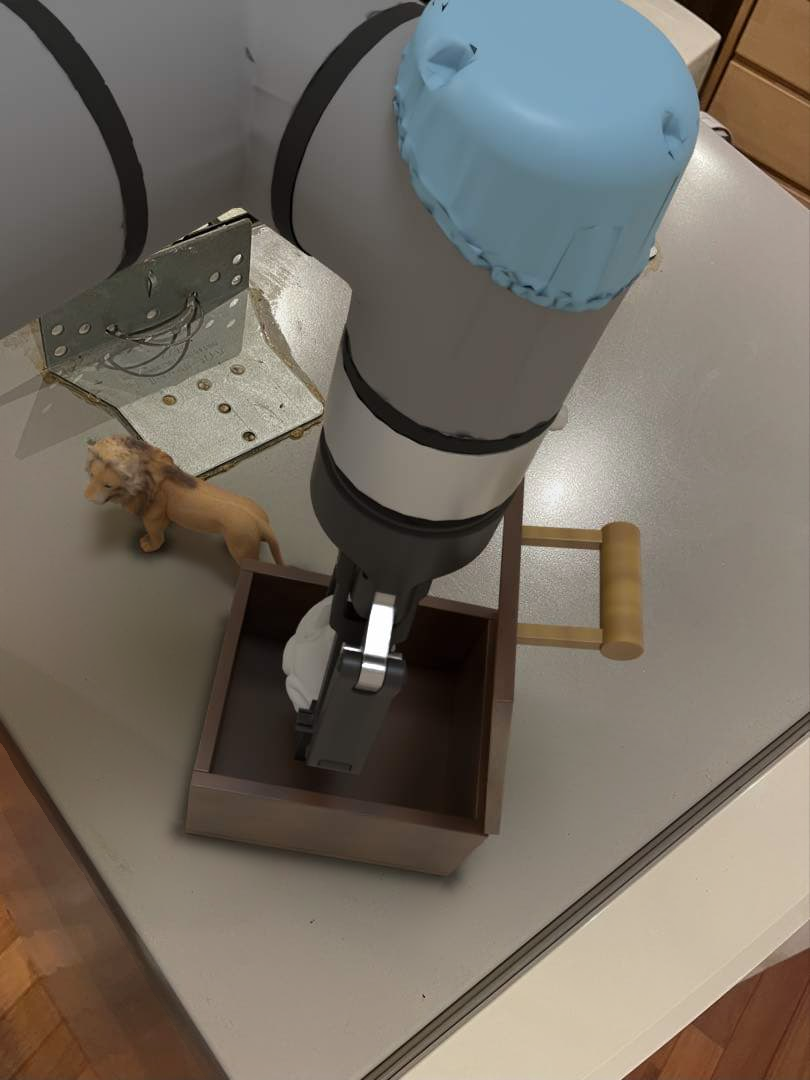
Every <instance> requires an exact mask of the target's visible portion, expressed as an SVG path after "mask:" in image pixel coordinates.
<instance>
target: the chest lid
mask: <svg viewBox="0 0 810 1080" xmlns="http://www.w3.org/2000/svg"><path fill="white" fill-rule="evenodd" d="M525 479H526V474H525V475H524V477H523V479H522V481H521V482H520V484H519V485H518V487H517V490H516V493H515V495H514V498H513V500H512V502H511V504H510V506H509V507H508V509H507V511H506V513H505V515H504V516H503V520H502V521H503V523H502V538H501V551H500V552H501V554H500V557H501V558H500V568H499V569H500V570H499V584H498V585H499V586H498V599H497V600H498V601H497V609H498V614H497V631H496V647H495V663H494V679H493V695H492V711H491V727H490V743H489V759H488V775H487V791H486V807H485V823H484V833H485V834H489V835H494V836H499V835H500V832H501V822H502V815H503V813H502V811H503V804H504V795H505V787H506V786H505V785H506V777H507V769H508V758H509V751H510V750H509V748H510V741H511V740H510V739H511V731H512V721H513V714H514V713H513V712H514V705H515V704H514V703H515V688H516V687H515V685H516V684H515V683H516V665H517V663H516V662H517V645H520V646H521V645H523V646H535V647H548V648H549V647H550V648H562V649H576V650H587V651H588V650H591V651H599V653H600V654H601V656H602V657H604V658H606V659H608V660H610V661H611V660H612V661H617V662H626V661H627V662H628V661H633V660H636V659H638V658H640V657H641V656H642V655H643V654H644V652H645V644H644V640H645V639H644V611H643V610H644V609H643V607H644V606H643V575H642V574H643V573H642V540H641V537H642V536H641V530H640V528H639V527H638V526H637V525H636V524H634V523H632V522H629V521H622V520H621V521H611V522H609V523H607V524H605V525H603V526H602V527H601V528H600V529H592V528H591V529H589V528H572V527H556V526H539V525H525V524H524V525H523V523H524V504H525V501H524V500H525V482H526V480H525ZM522 546H523V547H524V546H525V547H539V548H540V547H541V548H554V549H555V548H557V549H571V550H589V551H598V557H599V558H598V560H599V561H598V563H599V564H598V565H599V566H598V568H599V569H598V571H599V572H598V576H599V577H598V578H599V580H598V583H599V587H598V589H599V590H598V591H599V593H598V594H599V595H598V597H599V598H598V600H599V601H598V602H599V606H598V607H599V611H598V612H599V613H598V614H599V617H598V618H599V619H598V622H599V623H598V624H599V625H598V626H599V627H583V626H569V625H556V624H544V623H543V624H541V623H528V622H527V623H526V622H519V606H520V604H519V603H520V602H519V601H520V582H521V564H522V563H521V562H522Z"/></svg>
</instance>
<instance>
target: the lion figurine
mask: <svg viewBox="0 0 810 1080" xmlns="http://www.w3.org/2000/svg"><path fill="white" fill-rule="evenodd" d="M86 449H87V454H86V460H85V465H84V471H85V472H86V473H87V475H88V478H89V481H88V484H86V486H85V487H84V489H83V492H82V493H83V497H84V498H85V499H86V500H87V501H89V502H90V503H92V504H93V505H95V506H96V507H100V506H103V505H104V504H106V503H108V502H109V503H112V504H115V505H119V504H120V505H121V507H122V509H123V510H126V512H127V513H128V514H129V513H132V514H133V515H135V516H137V517H141V518H142V522H143V525H144V528H145V531H146V532H147V534H145V535H144V536H143V537H142V538H140V540H139V542H140V548H141V549H142V550H143V551H144V552H145V553H151V552H154V551H157V550H158V549H160V548H161V546H162V544H163V543H164V542H165V535H164V530H165V529H166V528H167V527H168V526H169V525H170V523H171V521H172V522H174V523H176V524H178V525H179V526H182V527H184V528H186V529H189V530H191V531H194V532H198V533H201V534H205V535H212V536H214V535H219V536H221V537H222V538H223V539H224V540H225V542H226V546H227V549H228V551H229V553H230V555H231V556H232V558H233V559H234V561H235V562H236V563H237V565H238V566H239V567H240V568H241V563H242V559H243V558H247V559H252V560H257V561H261V560H260V556H259V553H260V548H261V545H262V542H263V543H267V544H268V548H269V550H270V554H271V556H272V558H273V561H274V562H275V564H277V565H282V566H287V567H292V568H297V569H302V570H305V569H304V568H301V567H296V566H294V565H287V564H285V561H284V559H283V557H282V552H281V549H280V545H279V542H278V539H277V538H276V536H275V533H274V531H273V529H272V528H271V526H270V518H269V516H268V513H267V512H266V510H265V509H263V508H262V507H261V506H260V505H259V504H258V503H256V502H255V501H254V500H253V499H252V498H250V497H248V496H246V495H243V494H242V495H241V494H238V493H234V492H231V491H227V490H225V489H223V488H220V487H219V486H216V485H214V484H212V483H209V482H208V481H205V480H203V479H201V478H199V477H197V476H194V475H192V474H190V473H189V472H186V471H184V470H183V469H181V468H180V466H179V465H177V464H175V463H174V459H173V457H172V456H171V455H170V454H169V453H167V452H166V451H162V448H160V447H156V446H154V445H152V444H149V443H148V442H147V441H145V440H142V439H137V438H136V437H134V436H133V435H128V436H127V435H123V434H121V433H115V434H110V435H108V436H105V437H102V438H99V439H98V441H96V442H95V443H94V445H93V444H92V445H91V444H90V445H86Z"/></svg>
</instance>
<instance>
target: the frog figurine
mask: <svg viewBox="0 0 810 1080" xmlns="http://www.w3.org/2000/svg"><path fill="white" fill-rule="evenodd" d="M333 595H334V594H333ZM333 595H331V596H329V597H327V598H325V599H324V600H322V601H321V602H319V603H318V604H316V605H315V606H313V607H312V608H311V609H310V610H309V611H308V613H307V614H306V615H305V616H304V617H303V619H302V620H301V622H300V624H299V626H298V628H297V631H296V634H295V635H294V636H292V637H291V638H290V640H289V641H288V642H287V644H286V647H285V650H284V653H283V665H282V668H283V671H284V673H285V674H286V675H287V676H288V677H287V678H286V689H287V693H288V695H289V697H290V699H291V700H292V702H293V704H294V707H295V710H296V712H297V713H298V709H299V708H303V709H309V708H310V705H311V702H312V699H314V700H318V696H319V692H320V689H321V685H322V681H323V677H324V674H325V670H326V666H327V663H328V659H329V655H330V651H331V648H332V644H333V640H334V637H335V633H336V632H335V631H334V630H333V629H332V628H331V627H330V625H329V619H330V611H331V604H332V599H333ZM347 600H348V601H351V599H350V591H349V595H348V598H347ZM351 602H352V601H351ZM394 650H395V644H394V645H393V647H392V649H391V651H393V652H394Z"/></svg>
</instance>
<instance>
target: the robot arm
mask: <svg viewBox="0 0 810 1080" xmlns="http://www.w3.org/2000/svg"><path fill="white" fill-rule="evenodd" d="M700 111H701V108H700V100H699V94H698V88H697V86H696V83H695V80H694V78H693V75H692V73H691V71H690V69H689V67H688V65H687V64H686V61H685V59H684V57H683V56H682V55H681V53H680V52H679V50H678V49H677V47H676V46H675V45H674V44H673V43H672V41H671V40H670V39H669V38H668V37H667V36H666V35H665V34H664V32H663V31H662V30H661V29H660V28H659V27H658V26H656V25H655V24H654V22H652V21H651V20H650V19H649V18H647V16H645V15H644V14H642V13H641V12H639V11H638V10H636V9H635V8H633V7H632V6H630V5H629V4H627V3H625V2H624V1H622V0H430V1H429V2H428V4H425V3H424V2H422V1H420V0H0V341H1V340H2V341H3V339H6V338H7V337H9V336H10V335H12V334H14V333H15V332H17V331H19V330H21V329H23V328H24V327H27V326H28V325H29V324H31V323H33V322H34V321H36V320H38V319H39V318H42V317H44V316H45V315H47V314H49V313H50V312H52V311H54V310H55V309H58V308H59V307H60V306H63V305H64V304H66V303H68V302H69V301H71V300H73V299H74V298H77V297H78V296H79V295H81V294H83V293H85V292H87V291H89V290H90V289H92V288H94V287H95V286H97V285H99V284H100V283H102V282H104V281H106V280H109V279H110V278H113V276H115V275H116V274H118V273H119V272H124V271H126V270H129V269H131V268H132V267H134V266H136V265H138V264H140V263H141V262H143V261H145V260H146V259H148V258H149V257H152V256H153V255H155V254H156V253H158V252H161V251H162V250H164V249H166V248H167V247H169V246H171V245H172V244H174V243H176V242H178V241H179V240H181V239H183V238H185V237H187V236H188V235H190V234H191V233H193V232H195V231H197V230H199V229H201V228H202V227H205V226H206V225H208V224H209V223H211V222H212V221H214V220H216V219H218V218H219V217H220V218H221V216H223V215H224V214H227V213H228V212H230V211H231V210H233V209H242V210H243V211H245V212H246V213H248V214H249V215H250V216H252V217H253V218H254V219H256V220H257V221H259V222H260V223H261V224H263V225H265V226H266V227H267V228H269V229H270V230H272V231H273V232H275V233H276V234H277V235H278V236H280V237H282V238H283V239H284V240H285V241H287V242H288V243H290V244H291V245H292V246H294V247H295V248H296V249H297V250H299V251H300V252H301V253H303V254H304V255H306V256H308V257H310V258H314V259H315V260H316V261H318V262H319V263H320V264H322V265H323V266H324V267H326V268H327V269H328V270H329V271H331V272H332V273H334V274H335V275H337V276H338V277H339V278H341V279H342V280H343V281H344V282H345V283H347V285H348V286H349V288H350V290H351V294H350V295H351V296H350V301H349V307H348V311H347V316H346V321H345V323H344V325H343V328H342V333H341V336H340V340H339V345H338V348H337V353H336V357H335V362H334V365H333V370H332V374H331V379H330V383H329V387H328V391H327V396H326V400H325V405H324V412H323V419H322V425H321V428H320V429H321V430H320V433H319V437H318V442H317V446H316V451H315V455H314V459H313V463H312V467H311V472H310V479H309V495H310V502H311V505H312V509H313V513H314V515H315V517H316V519H317V521H318V524H319V526H320V528H321V529H322V531H323V532H324V533H325V536H326V537H327V538H328V539H329V540H330V541H331V543H332V544H333V545H334V546H335V547H336V548H337V549H338V550H337V557H336V563H335V564H334V568H333V571H332V574H331V576H332V577H331V580H330V583H329V587H328V590H327V593H326V596H325V598H327V597H329V596H331V595H333V594H334V595H333V599H332V604H331V611H330V619H329V625H330V627H331V628H332V629H333V630H334V631H335V632H336V633H335V637H334V640H333V644H332V648H331V651H330V655H329V659H328V663H327V666H326V670H325V674H324V677H323V681H322V685H321V689H320V692H319V696H318V700H314V699H312V702H311V705H310V708H309V709H303V708H299V709H298V714H297V719H296V724H295V730H297V731H301V734H300V737H299V739H298V742H297V745H296V750H295V756H294V760H299V761H304V762H307V765H309V766H314V767H320V768H325V769H331V770H336V771H342V772H348V773H353V774H360V772H361V770H362V767H364V765H365V761H366V758H367V756H368V754H369V751H370V749H371V747H372V744H373V742H374V740H375V737H376V735H377V733H378V731H379V728H380V726H381V724H382V721H383V719H384V717H385V714H386V712H387V710H388V707H389V705H390V703H391V701H392V698H393V697H394V696H395V695H396V694H397V693H398V692H399V691H400V690H401V688H402V685H403V683H405V682H406V680H407V675H408V670H407V665H406V661H405V660H402V654H401V653H398V652H393V651H391V649H392V647H393V645H394V644H396V643H400V642H403V641H405V640H406V639H407V637H408V634H409V631H410V628H411V625H412V622H413V619H414V616H415V613H416V610H417V607H418V604H419V602H420V600H422V599H423V598H425V597H426V596H427V595H429V593H430V589H431V586H432V583H433V580H436V579H438V578H442V577H445V576H448V575H450V574H453V573H455V572H457V571H459V570H461V569H463V568H464V567H466V566H468V565H470V564H471V563H472V562H473V561H474V560H476V559H477V558H478V557H479V556H480V555H481V554H482V552H484V550H485V549H486V548H487V546H488V545H489V544H490V542H491V540H492V538H493V536H494V534H495V533H496V531H497V529H498V528H499V526H500V524H501V522H502V521H503V519H504V515H505V513H506V511H507V509H508V507H509V506H510V504H511V502H512V500H513V498H514V495H515V493H516V490H517V487H518V485H519V484H520V482H521V481H522V479H523V477H524V475H525V476H526V473H527V471H528V470H529V468H530V466H531V464H532V462H533V460H534V458H535V456H536V454H537V452H538V451H539V449H540V446H541V445H542V443H543V441H544V439H545V438H546V436H547V434H548V433H549V431H550V432H557V431H563V430H564V428H565V427H566V426H567V425H568V423H569V410H568V407H567V406H568V405H566V404H564V402H565V401H566V399H567V397H568V396H569V394H570V392H571V390H572V389H573V387H574V385H575V383H576V382H577V380H578V378H579V376H580V374H581V373H582V371H583V370H584V368H585V366H586V364H587V362H588V361H589V359H590V357H591V355H592V353H593V352H594V350H595V348H596V346H597V345H598V343H599V342H600V339H601V338H602V336H603V334H604V333H605V331H606V329H607V328H608V325H609V324H610V323H611V320H612V319H613V317H614V315H615V314H616V313H617V311H618V309H619V307H620V306H621V304H622V302H623V300H624V299H625V298H626V295H627V294H628V292H629V291H630V289H631V288H632V285H633V284H634V283H635V282H636V281H637V280H638V279H639V278H640V276H641V275H642V273H643V272H644V270H645V268H646V267H647V265H648V263H649V261H650V257H651V250H652V249H653V248H654V246H655V242H656V234H657V232H658V230H659V228H660V226H661V223H662V221H663V219H664V217H665V215H666V213H667V211H668V208H669V207H670V204H671V202H672V200H673V198H674V196H675V193H676V191H677V189H678V187H679V185H680V182H681V181H682V178H683V176H684V174H685V172H686V169H687V168H688V166H689V163H690V161H691V159H692V158H693V155H694V153H695V148H696V146H697V142H698V136H699V132H700V121H701V120H700V119H701V112H700ZM349 591H350V599H351V601H352V602H351V601H348V600H347V598H348V595H349Z"/></svg>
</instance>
